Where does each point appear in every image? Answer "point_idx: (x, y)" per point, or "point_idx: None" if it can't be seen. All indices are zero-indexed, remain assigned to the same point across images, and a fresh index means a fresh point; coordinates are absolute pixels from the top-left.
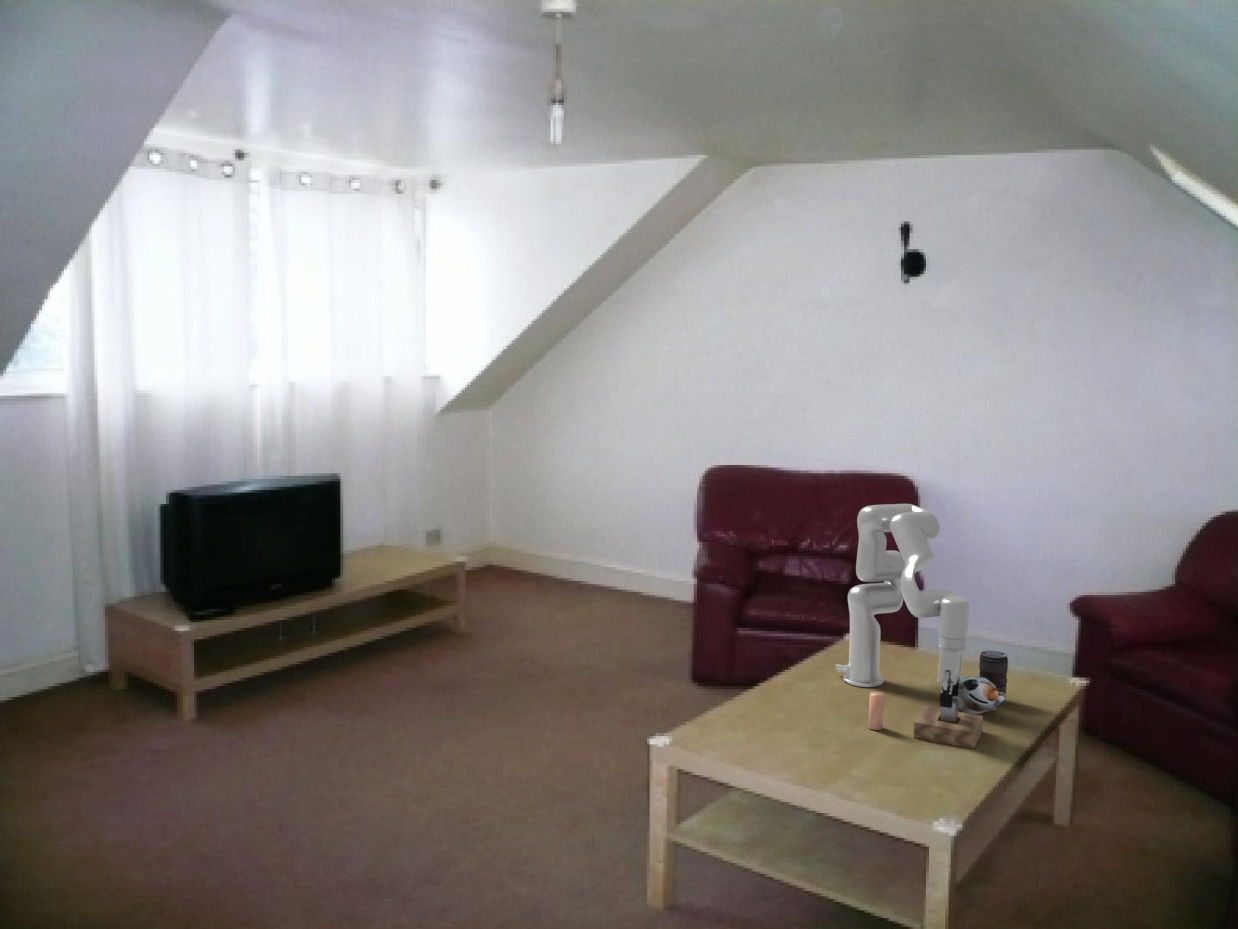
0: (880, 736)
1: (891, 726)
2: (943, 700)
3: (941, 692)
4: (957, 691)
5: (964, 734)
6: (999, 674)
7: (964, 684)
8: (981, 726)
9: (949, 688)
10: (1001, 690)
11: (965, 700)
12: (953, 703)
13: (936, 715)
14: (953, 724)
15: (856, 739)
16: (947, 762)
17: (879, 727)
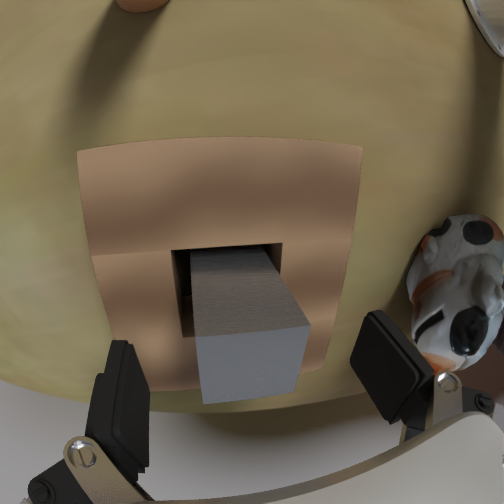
0: (68, 35)
1: (200, 28)
2: (93, 399)
3: (69, 446)
4: (363, 384)
5: None
6: (498, 344)
7: (478, 306)
8: None
9: (385, 358)
10: None
11: (439, 281)
12: (202, 394)
13: (251, 229)
14: (167, 326)
15: (24, 2)
16: (8, 304)
17: (119, 2)
